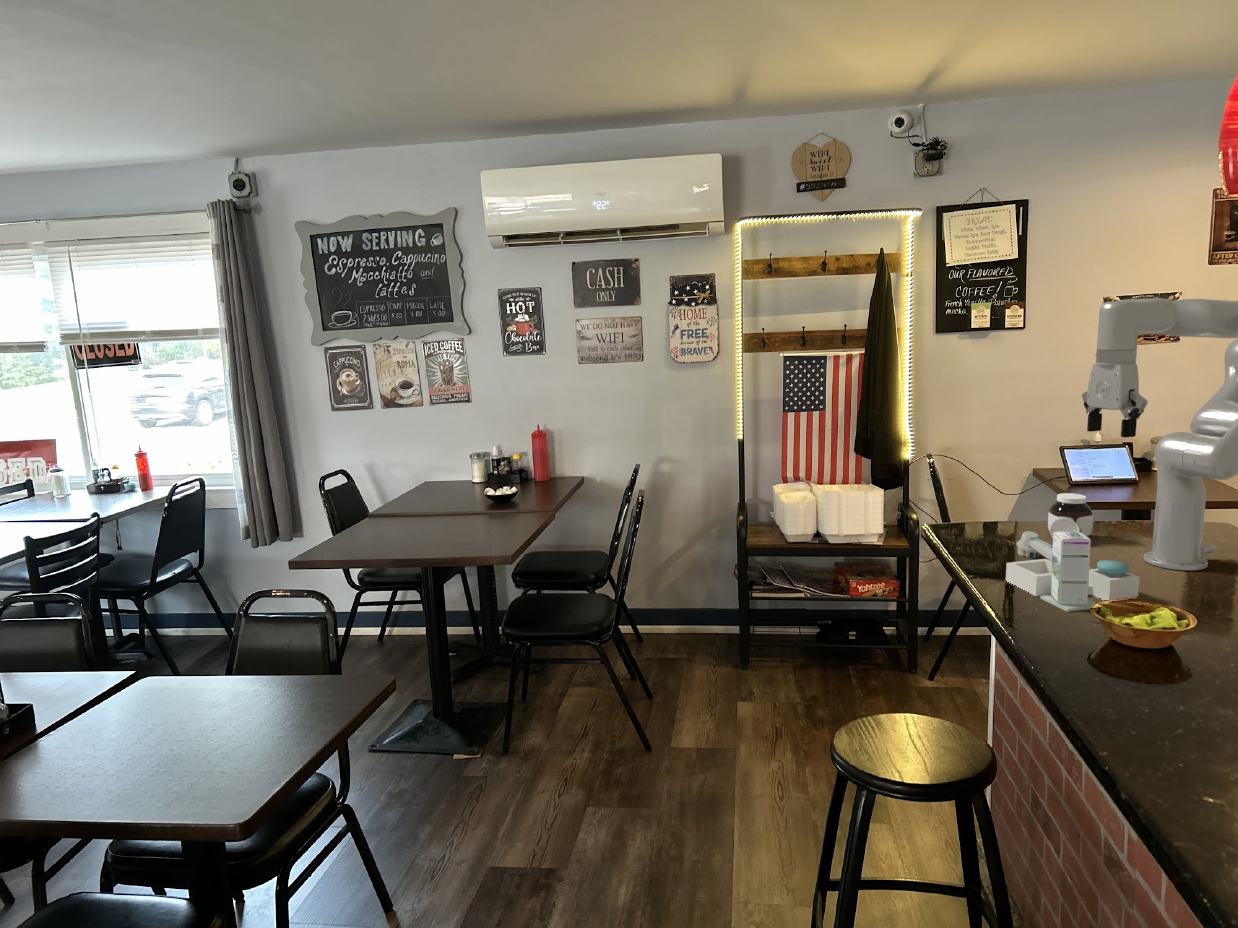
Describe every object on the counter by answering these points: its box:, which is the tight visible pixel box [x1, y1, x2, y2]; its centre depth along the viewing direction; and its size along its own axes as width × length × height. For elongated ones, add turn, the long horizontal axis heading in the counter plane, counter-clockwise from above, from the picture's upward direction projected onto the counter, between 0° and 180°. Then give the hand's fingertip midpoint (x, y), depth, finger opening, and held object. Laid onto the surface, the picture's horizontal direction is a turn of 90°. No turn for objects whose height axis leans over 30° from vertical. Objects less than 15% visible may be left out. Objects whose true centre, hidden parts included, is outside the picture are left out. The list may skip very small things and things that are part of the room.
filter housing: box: [1005, 558, 1141, 601], centre depth 171 cm, size 18×18×5 cm
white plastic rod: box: [1016, 530, 1093, 570], centre depth 187 cm, size 5×7×25 cm
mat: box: [1039, 595, 1098, 613], centre depth 164 cm, size 8×8×1 cm
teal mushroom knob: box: [1096, 559, 1129, 578], centre depth 167 cm, size 6×6×6 cm
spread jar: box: [1047, 492, 1094, 539], centre depth 207 cm, size 12×11×12 cm
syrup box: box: [1050, 531, 1092, 605], centre depth 163 cm, size 6×6×14 cm
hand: (1110, 433), depth 174 cm, fingers open, 9 cm apart
